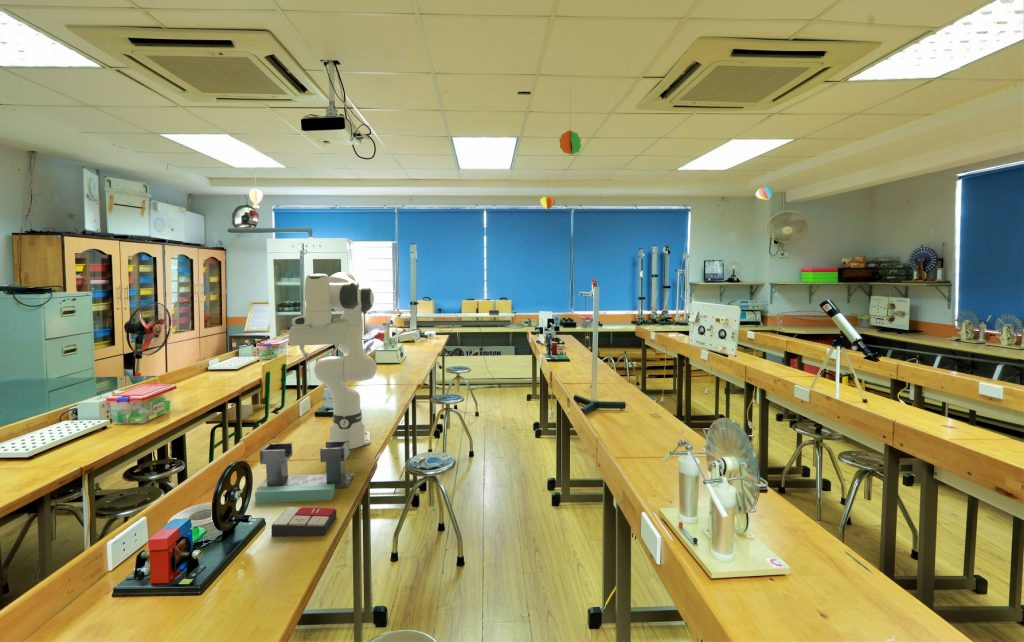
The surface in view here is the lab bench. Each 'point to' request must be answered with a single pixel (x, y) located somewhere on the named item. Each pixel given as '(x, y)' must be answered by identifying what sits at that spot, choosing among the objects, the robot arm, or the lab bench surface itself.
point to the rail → (294, 493)
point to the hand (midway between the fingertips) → (319, 357)
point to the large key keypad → (303, 522)
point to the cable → (199, 518)
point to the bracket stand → (278, 475)
